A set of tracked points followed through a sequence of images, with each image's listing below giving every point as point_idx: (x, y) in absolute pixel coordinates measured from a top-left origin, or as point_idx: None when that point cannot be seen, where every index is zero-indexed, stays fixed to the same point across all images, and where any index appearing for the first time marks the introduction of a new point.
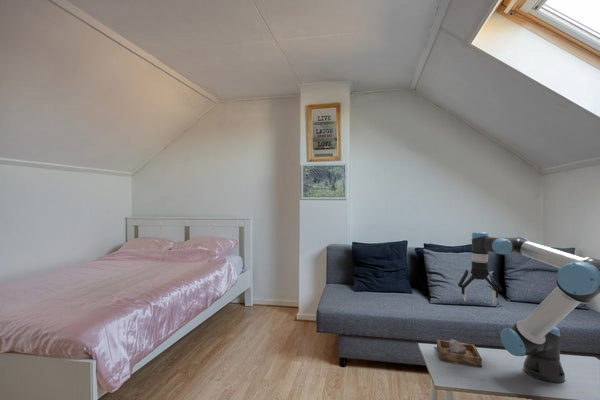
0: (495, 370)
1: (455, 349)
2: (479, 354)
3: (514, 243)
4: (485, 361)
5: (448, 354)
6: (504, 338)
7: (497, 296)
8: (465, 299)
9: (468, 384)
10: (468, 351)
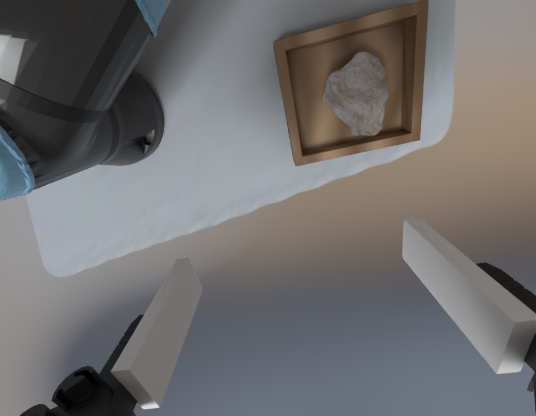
0: (233, 47)
1: (366, 62)
2: (280, 80)
3: None
4: (262, 106)
5: (395, 8)
6: None
7: (133, 326)
8: (421, 228)
9: None
10: (310, 141)
